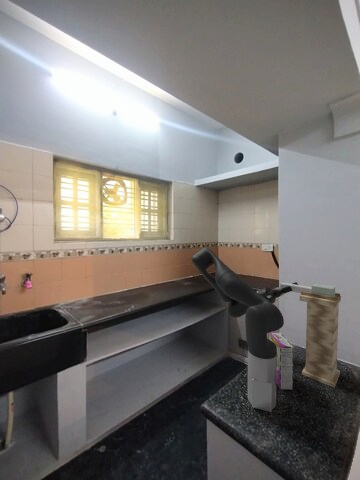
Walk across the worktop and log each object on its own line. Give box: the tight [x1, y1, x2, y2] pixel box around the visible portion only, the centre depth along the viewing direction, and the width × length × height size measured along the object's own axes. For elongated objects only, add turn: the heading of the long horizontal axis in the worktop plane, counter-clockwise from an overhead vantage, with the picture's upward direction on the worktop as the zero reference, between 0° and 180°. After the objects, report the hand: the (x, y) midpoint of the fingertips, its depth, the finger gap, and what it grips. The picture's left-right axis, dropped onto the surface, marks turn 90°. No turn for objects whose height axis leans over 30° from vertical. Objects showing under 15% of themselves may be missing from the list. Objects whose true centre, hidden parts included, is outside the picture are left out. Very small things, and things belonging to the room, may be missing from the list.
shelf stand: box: [298, 291, 342, 389], centre depth 89 cm, size 12×11×33 cm
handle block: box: [279, 282, 336, 297], centre depth 92 cm, size 20×5×4 cm, turn 46°
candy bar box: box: [268, 332, 294, 391], centre depth 86 cm, size 11×5×16 cm, turn 179°
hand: (294, 286), depth 95 cm, fingers open, 8 cm apart
